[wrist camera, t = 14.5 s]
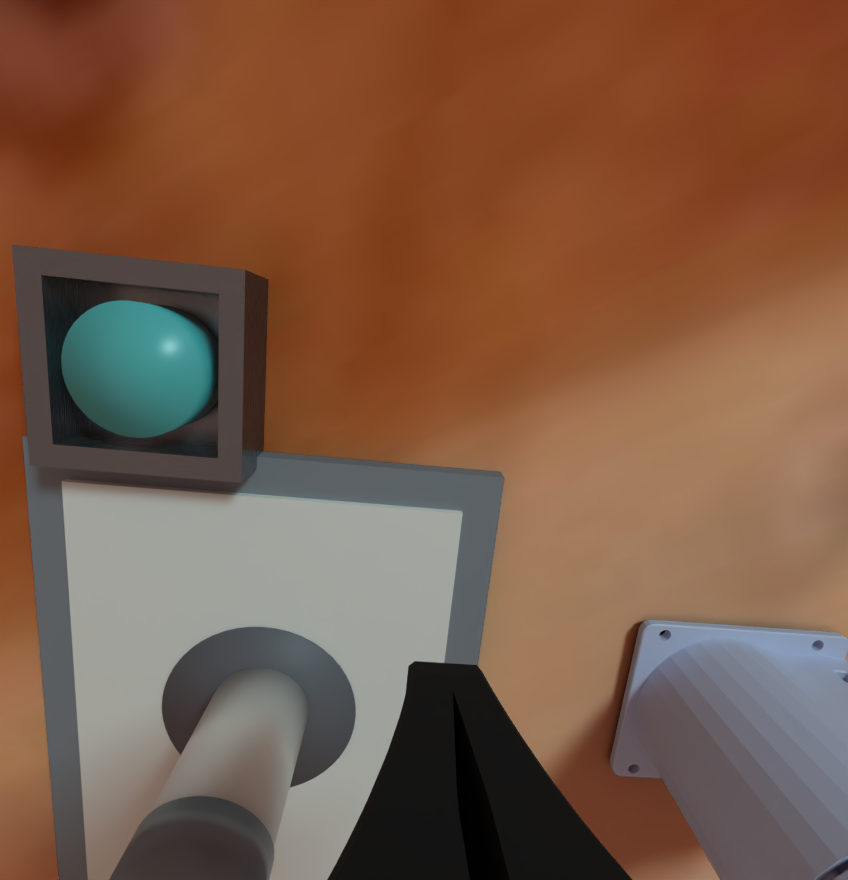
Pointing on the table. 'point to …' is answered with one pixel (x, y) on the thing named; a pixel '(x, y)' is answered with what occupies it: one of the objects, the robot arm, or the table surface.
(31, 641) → the table surface
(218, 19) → the table surface
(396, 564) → the board
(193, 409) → the button
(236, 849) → the capped white cylinder
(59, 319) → the button housing
